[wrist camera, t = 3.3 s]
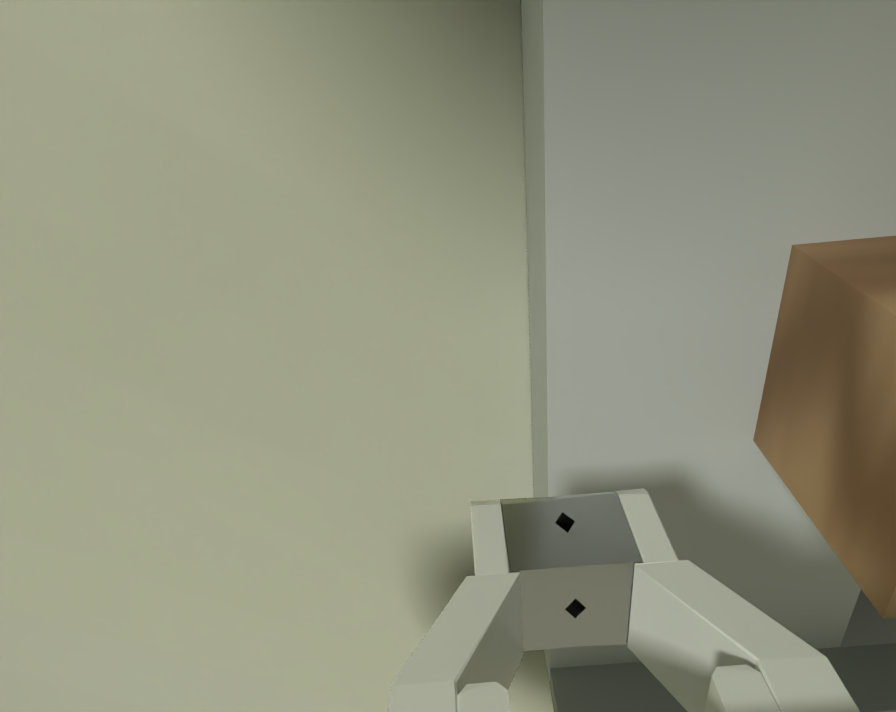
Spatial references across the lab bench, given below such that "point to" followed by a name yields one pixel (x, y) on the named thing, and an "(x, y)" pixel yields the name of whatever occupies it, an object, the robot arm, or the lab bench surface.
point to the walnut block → (839, 403)
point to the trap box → (696, 285)
